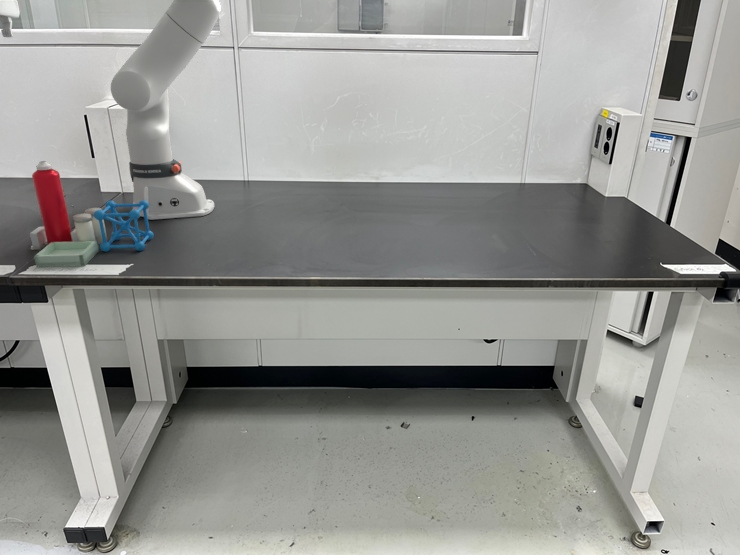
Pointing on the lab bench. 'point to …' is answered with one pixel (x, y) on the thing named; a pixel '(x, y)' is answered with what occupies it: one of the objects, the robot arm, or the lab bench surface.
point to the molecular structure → (124, 225)
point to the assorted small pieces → (70, 243)
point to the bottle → (52, 203)
